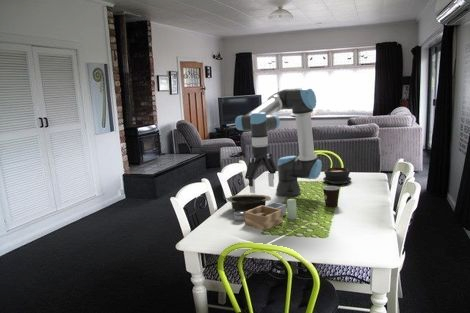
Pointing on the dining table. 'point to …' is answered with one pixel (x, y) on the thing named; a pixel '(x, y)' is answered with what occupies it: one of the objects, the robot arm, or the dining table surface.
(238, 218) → the pewter tin
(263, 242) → the dining table surface
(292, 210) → the pale green block
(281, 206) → the grey tub
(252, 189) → the robot arm
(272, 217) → the oak crate
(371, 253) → the dining table surface
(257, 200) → the stone bowl
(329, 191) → the coffee mug
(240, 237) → the dining table surface
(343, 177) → the casserole
